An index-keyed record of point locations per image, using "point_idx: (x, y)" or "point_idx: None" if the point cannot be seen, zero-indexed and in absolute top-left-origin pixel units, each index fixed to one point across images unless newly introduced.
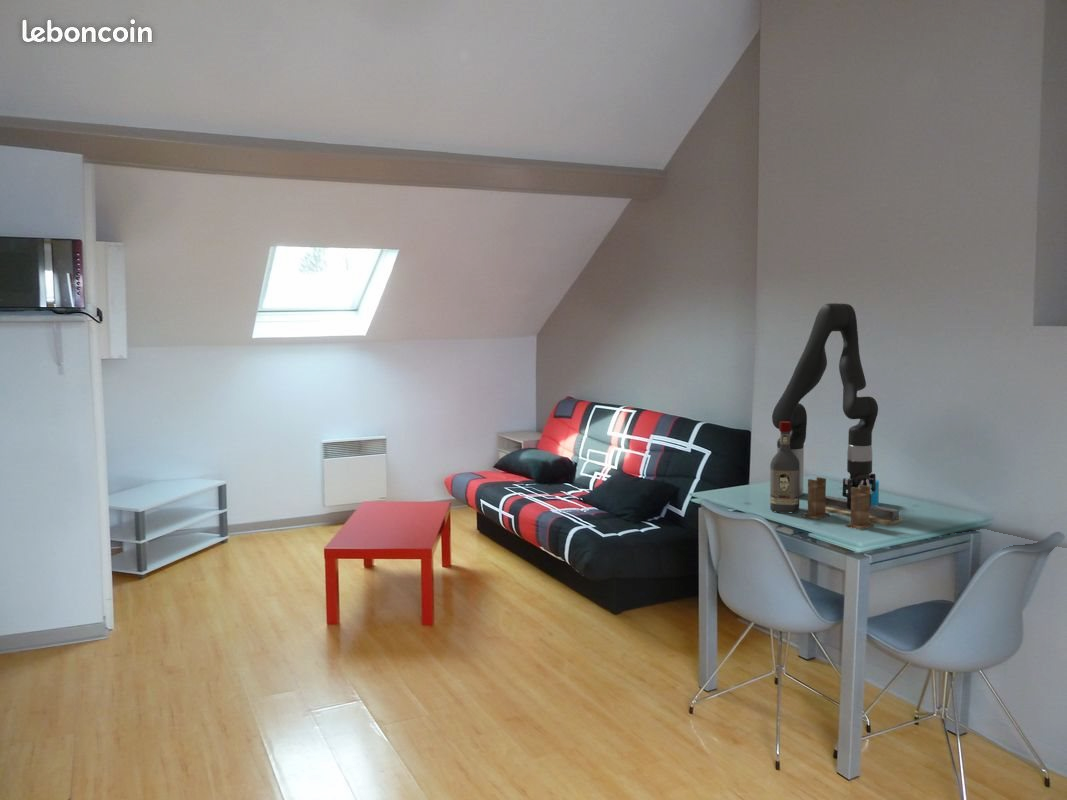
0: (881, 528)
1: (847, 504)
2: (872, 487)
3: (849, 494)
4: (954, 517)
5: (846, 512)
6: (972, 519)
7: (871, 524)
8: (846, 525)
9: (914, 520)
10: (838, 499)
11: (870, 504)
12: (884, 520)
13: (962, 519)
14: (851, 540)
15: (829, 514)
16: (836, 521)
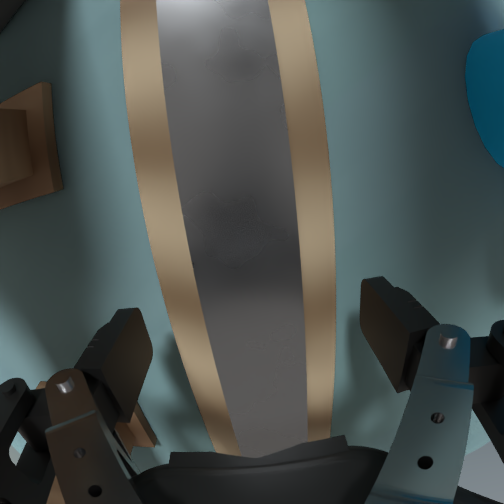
0: (162, 460)
1: (92, 344)
2: (484, 416)
3: (38, 455)
4: (479, 430)
5: (163, 246)
6: (475, 448)
7: (137, 444)
8: (39, 387)
9: (379, 441)
10: (208, 80)
11: (304, 398)
12: (230, 452)
13: (466, 447)
14: (14, 443)
15: (53, 191)
16: (36, 303)
